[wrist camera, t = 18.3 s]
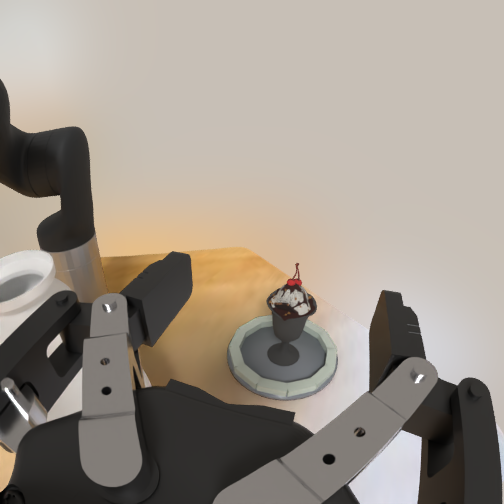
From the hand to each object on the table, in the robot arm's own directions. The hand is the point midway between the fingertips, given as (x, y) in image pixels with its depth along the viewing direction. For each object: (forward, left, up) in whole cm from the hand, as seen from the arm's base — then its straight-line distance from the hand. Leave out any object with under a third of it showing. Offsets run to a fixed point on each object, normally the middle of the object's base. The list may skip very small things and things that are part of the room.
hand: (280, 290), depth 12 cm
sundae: (+10, +20, -28) cm, 36 cm away
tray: (+10, +20, -28) cm, 36 cm away
